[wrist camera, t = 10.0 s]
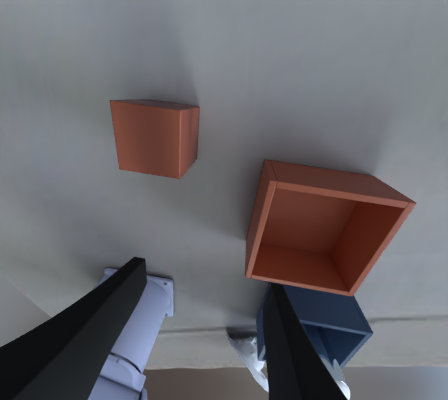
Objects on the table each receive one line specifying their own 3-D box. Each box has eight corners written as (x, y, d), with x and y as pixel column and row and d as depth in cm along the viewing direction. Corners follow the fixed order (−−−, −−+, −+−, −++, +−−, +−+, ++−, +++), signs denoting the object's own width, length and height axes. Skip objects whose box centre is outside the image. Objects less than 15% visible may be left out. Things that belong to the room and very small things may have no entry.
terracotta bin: (245, 241, 22) (244, 277, 17) (264, 159, 17) (269, 179, 13) (331, 256, 21) (352, 296, 17) (374, 176, 17) (417, 203, 12)
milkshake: (278, 297, 25) (295, 407, 16) (323, 298, 24) (366, 415, 15) (277, 318, 27) (291, 426, 18) (318, 320, 26) (354, 435, 17)
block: (150, 152, 18) (118, 169, 14) (147, 99, 16) (108, 99, 12) (196, 159, 18) (179, 179, 13) (199, 106, 16) (180, 110, 11)
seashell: (256, 317, 34) (282, 373, 30) (229, 332, 34) (252, 391, 29) (254, 318, 27) (288, 390, 23) (221, 336, 27) (248, 413, 23)
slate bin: (256, 320, 28) (257, 360, 24) (271, 275, 24) (276, 315, 19) (322, 332, 28) (335, 376, 23) (350, 289, 23) (373, 333, 19)
